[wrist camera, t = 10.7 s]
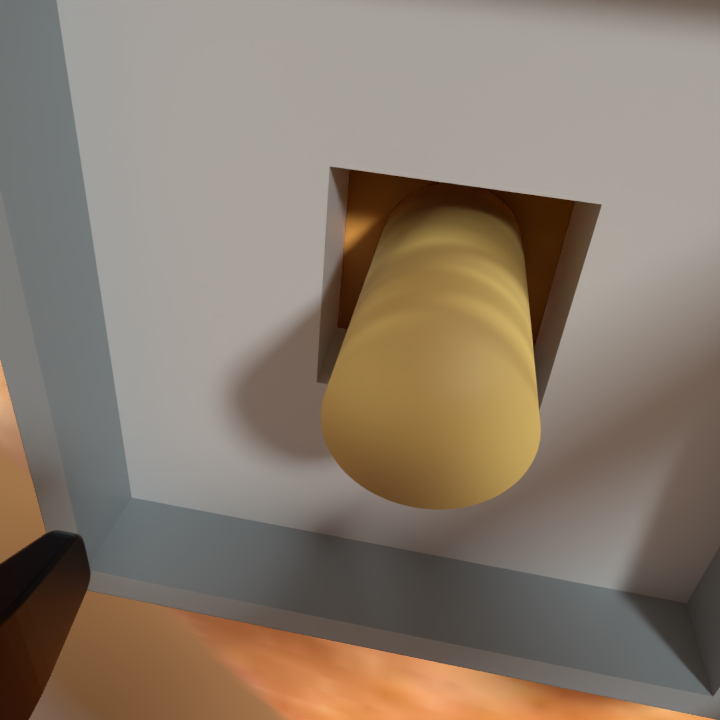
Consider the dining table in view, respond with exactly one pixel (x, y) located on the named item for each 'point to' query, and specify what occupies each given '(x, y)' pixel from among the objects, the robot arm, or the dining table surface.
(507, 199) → the dining table surface
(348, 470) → the yellow peg
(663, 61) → the slate box
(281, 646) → the dining table surface
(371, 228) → the dining table surface
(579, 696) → the dining table surface
